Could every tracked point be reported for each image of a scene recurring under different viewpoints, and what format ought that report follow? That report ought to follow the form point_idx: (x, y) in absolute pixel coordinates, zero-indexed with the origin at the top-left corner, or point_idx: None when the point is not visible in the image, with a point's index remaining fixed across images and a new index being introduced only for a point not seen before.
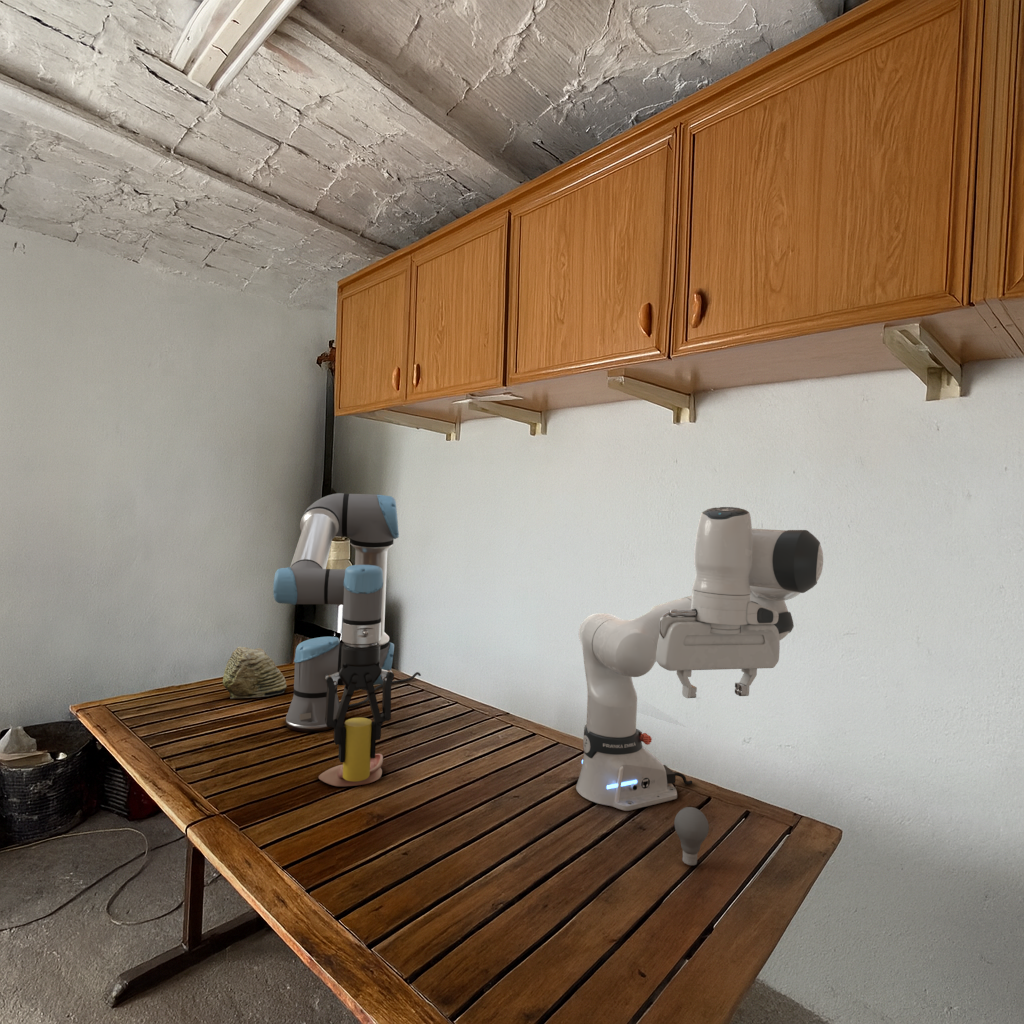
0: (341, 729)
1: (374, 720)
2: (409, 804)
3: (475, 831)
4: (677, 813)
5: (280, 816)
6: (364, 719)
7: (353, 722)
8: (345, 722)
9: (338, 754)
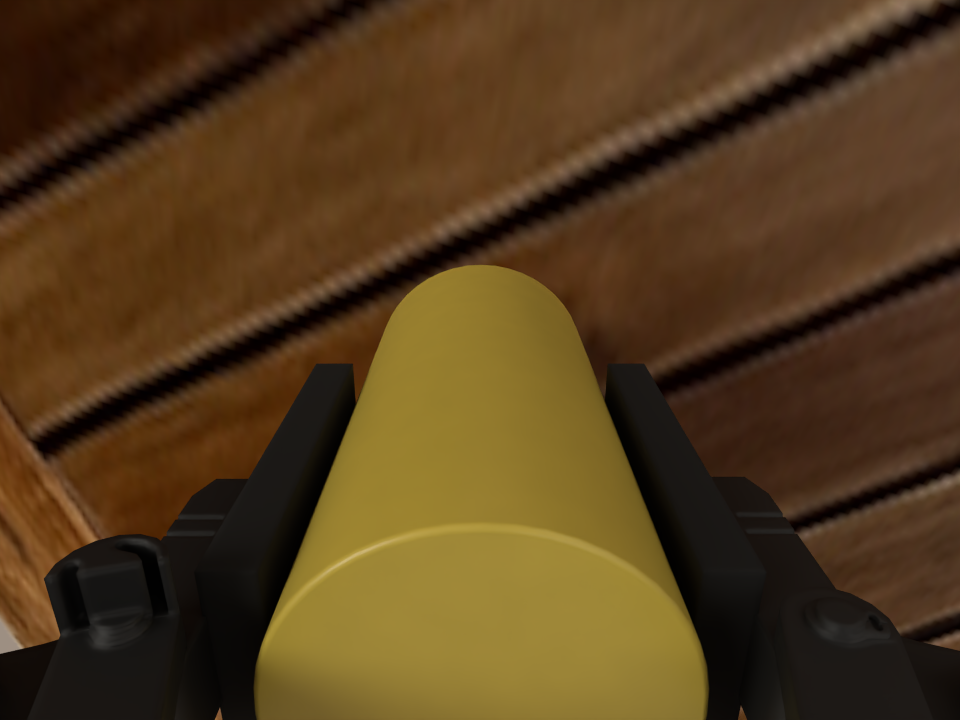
0: (223, 700)
1: (768, 678)
2: (785, 284)
3: (932, 600)
4: None
5: (86, 183)
6: (612, 647)
7: (399, 713)
8: (266, 683)
9: (310, 375)
